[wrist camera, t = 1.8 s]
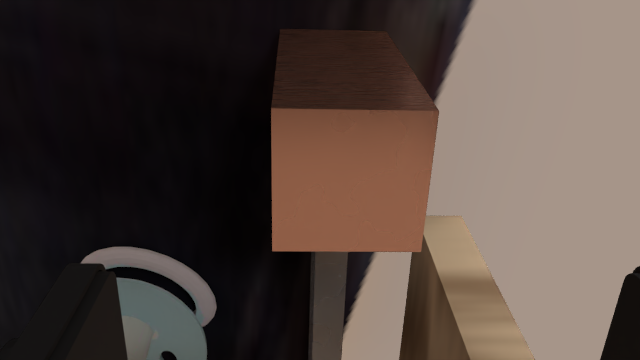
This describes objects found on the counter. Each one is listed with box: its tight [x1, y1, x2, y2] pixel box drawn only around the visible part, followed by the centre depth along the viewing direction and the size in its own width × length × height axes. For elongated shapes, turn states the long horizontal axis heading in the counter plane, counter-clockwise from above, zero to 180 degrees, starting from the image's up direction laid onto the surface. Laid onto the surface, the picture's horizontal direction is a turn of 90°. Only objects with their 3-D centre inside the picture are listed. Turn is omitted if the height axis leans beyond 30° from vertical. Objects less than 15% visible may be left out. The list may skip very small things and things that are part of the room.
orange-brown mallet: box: [271, 29, 439, 360], centre depth 22 cm, size 20×4×9 cm, turn 178°
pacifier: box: [81, 247, 217, 360], centre depth 24 cm, size 7×6×6 cm
